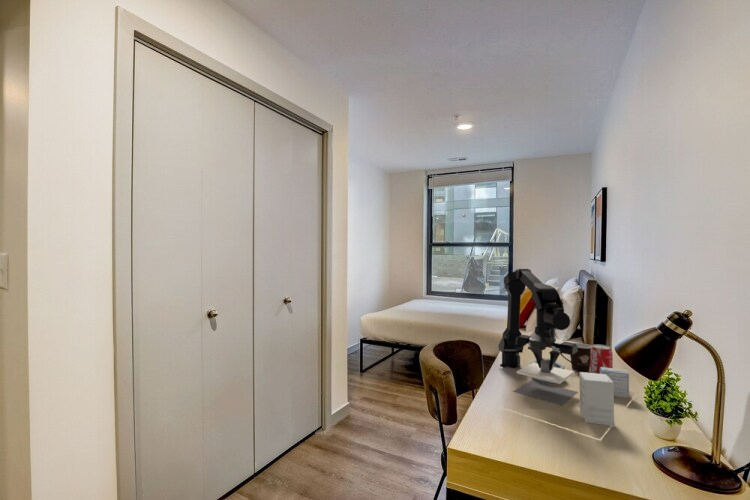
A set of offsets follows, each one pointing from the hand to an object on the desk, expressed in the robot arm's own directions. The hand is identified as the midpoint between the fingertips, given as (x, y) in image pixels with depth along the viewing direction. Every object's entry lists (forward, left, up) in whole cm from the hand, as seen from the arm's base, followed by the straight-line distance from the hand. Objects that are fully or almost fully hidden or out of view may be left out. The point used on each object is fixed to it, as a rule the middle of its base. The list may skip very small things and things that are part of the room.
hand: (545, 369), depth 125 cm
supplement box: (+18, -10, -9) cm, 22 cm away
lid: (0, 0, -2) cm, 2 cm away
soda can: (+10, +28, -9) cm, 31 cm away
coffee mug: (-1, +36, -9) cm, 37 cm away
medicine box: (+17, +15, -9) cm, 24 cm away
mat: (0, 0, -8) cm, 8 cm away
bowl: (-5, +15, -8) cm, 18 cm away
